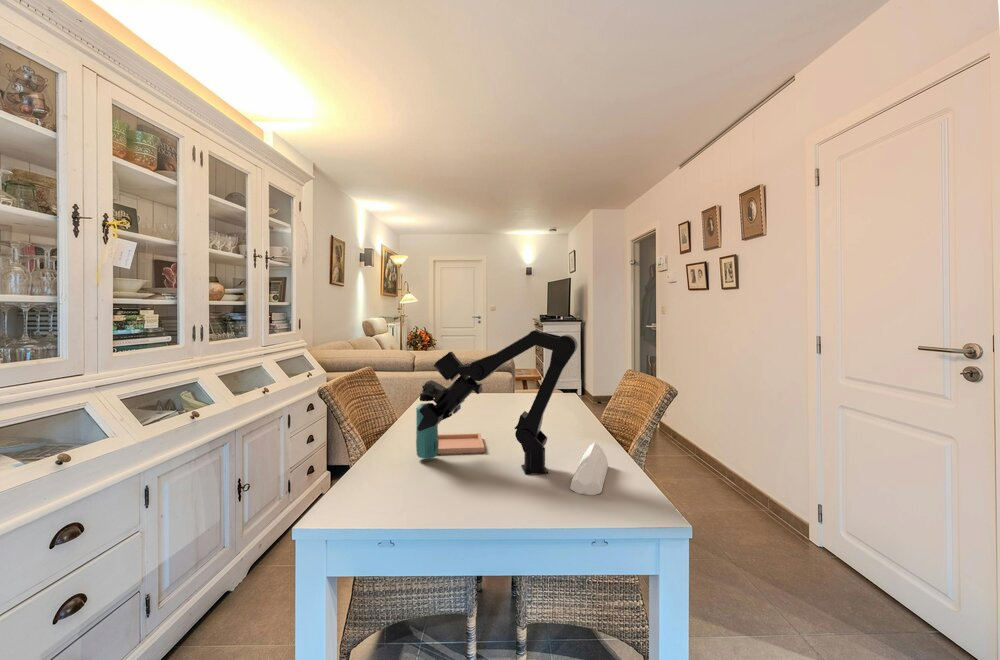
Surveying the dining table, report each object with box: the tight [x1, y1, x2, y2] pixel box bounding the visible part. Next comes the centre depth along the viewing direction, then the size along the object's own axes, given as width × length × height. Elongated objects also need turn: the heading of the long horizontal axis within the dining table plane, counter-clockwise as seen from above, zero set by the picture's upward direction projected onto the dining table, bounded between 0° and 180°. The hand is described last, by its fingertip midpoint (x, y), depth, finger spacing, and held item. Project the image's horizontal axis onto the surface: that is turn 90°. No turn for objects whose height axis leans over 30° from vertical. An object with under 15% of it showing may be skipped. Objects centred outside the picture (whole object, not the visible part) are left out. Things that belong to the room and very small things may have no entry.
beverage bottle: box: [415, 392, 439, 459], centre depth 130 cm, size 6×7×20 cm
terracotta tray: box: [438, 432, 485, 455], centre depth 144 cm, size 16×16×2 cm
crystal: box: [570, 442, 609, 496], centre depth 117 cm, size 7×7×24 cm
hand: (422, 427), depth 131 cm, fingers closed on beverage bottle, 6 cm apart
